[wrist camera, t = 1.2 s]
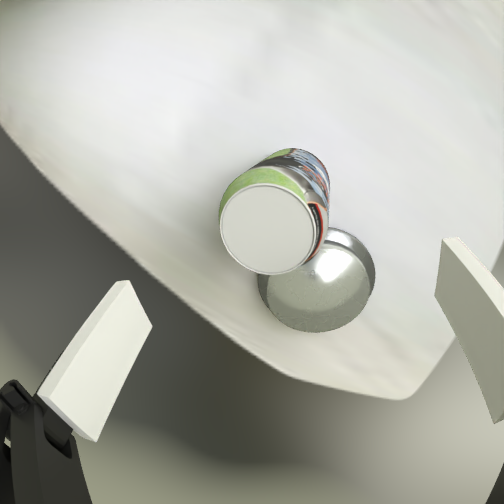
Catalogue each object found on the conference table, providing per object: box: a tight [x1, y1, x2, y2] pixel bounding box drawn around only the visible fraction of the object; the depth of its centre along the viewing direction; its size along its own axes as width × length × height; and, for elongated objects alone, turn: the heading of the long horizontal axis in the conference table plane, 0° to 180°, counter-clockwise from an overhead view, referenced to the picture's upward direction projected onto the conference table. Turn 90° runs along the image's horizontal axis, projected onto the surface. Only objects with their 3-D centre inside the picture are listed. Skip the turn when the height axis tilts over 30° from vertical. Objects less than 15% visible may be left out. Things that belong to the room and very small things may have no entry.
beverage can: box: [219, 148, 330, 275], centre depth 19 cm, size 6×7×12 cm
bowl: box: [258, 227, 375, 333], centre depth 28 cm, size 12×12×2 cm
